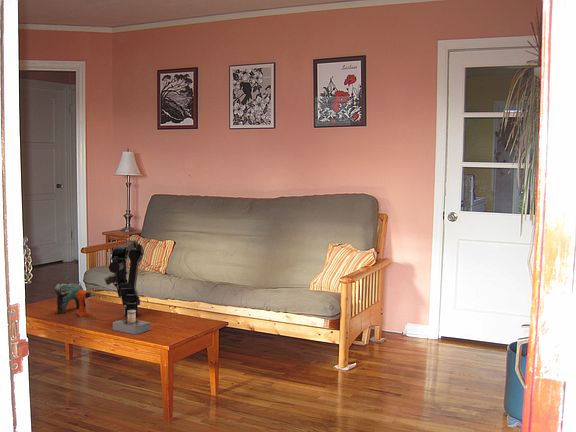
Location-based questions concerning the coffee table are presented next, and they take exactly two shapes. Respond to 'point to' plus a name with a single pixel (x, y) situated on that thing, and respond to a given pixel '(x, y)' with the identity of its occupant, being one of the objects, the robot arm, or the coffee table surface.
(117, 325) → the socket block
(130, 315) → the pin
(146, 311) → the coffee table surface
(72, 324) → the coffee table surface
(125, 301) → the robot arm
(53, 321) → the coffee table surface
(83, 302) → the toy drill
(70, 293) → the green power drill
